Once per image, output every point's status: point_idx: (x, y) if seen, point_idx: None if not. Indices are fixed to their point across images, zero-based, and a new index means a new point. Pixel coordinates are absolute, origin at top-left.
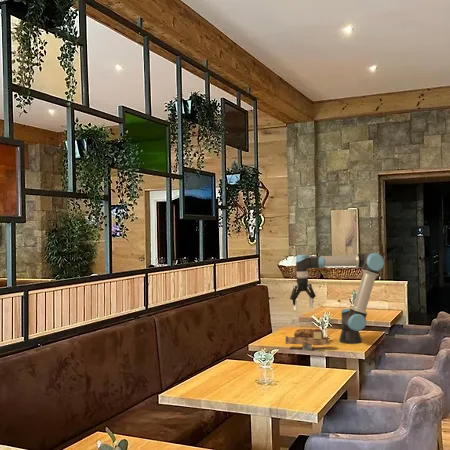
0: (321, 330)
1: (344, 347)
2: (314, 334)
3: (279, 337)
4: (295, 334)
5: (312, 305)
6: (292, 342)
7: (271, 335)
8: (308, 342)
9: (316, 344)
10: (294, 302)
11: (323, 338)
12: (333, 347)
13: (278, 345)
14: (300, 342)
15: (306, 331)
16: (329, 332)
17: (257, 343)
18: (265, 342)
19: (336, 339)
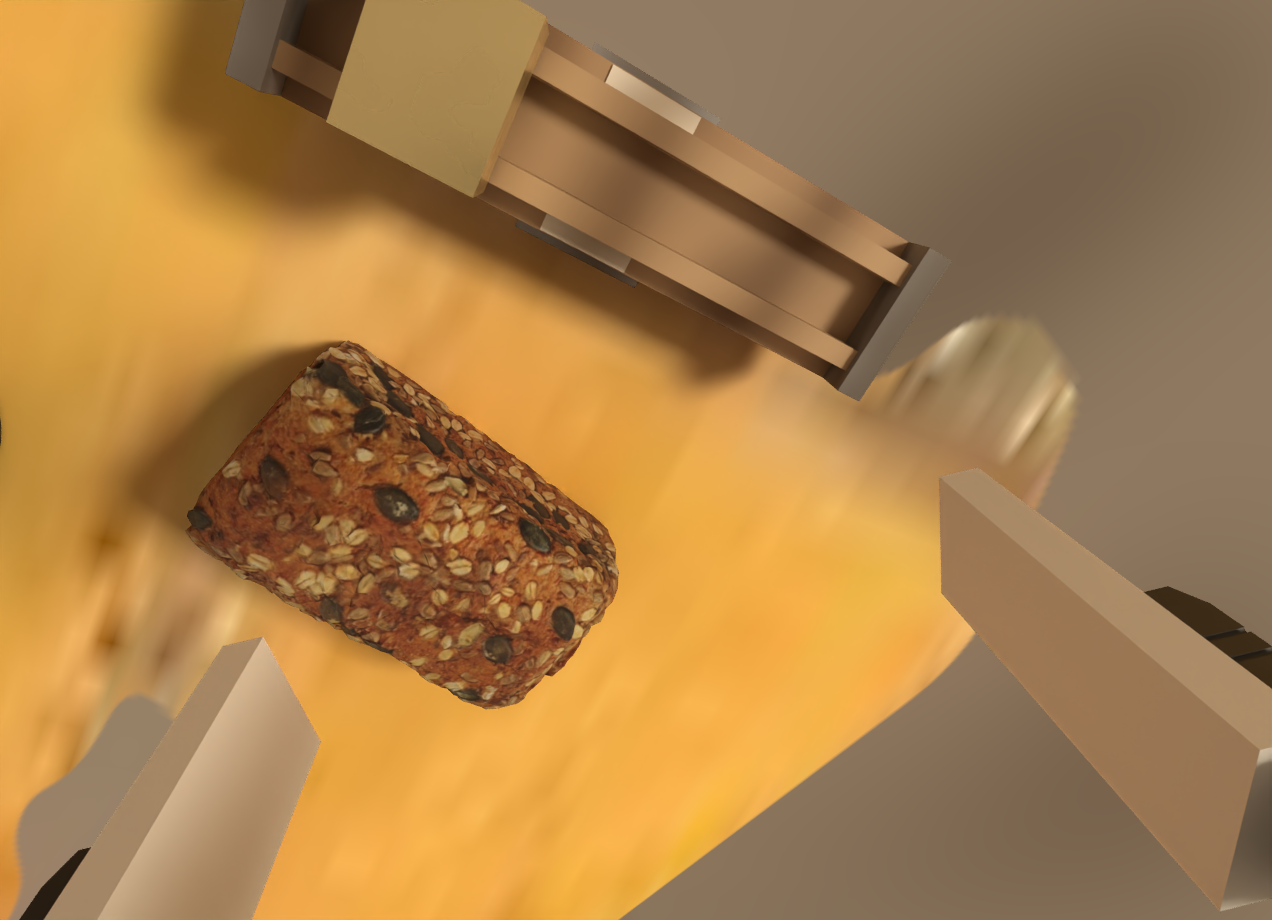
0: (209, 498)
1: (22, 47)
2: (532, 13)
3: (627, 799)
4: (606, 573)
5: (198, 711)
6: (843, 205)
7: (658, 880)
8: (635, 79)
9: (386, 364)
10: (1263, 675)
11: (336, 70)
12: (202, 121)
13: (822, 491)
14: (744, 145)
15: (468, 526)
16: (18, 870)
17: (956, 638)
18: (863, 654)
19: (19, 557)
